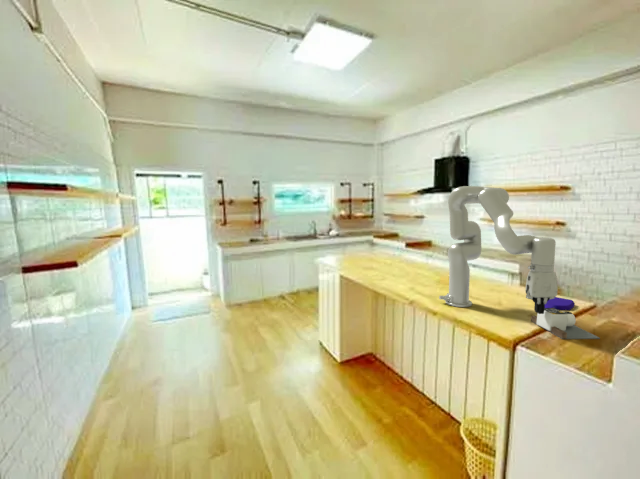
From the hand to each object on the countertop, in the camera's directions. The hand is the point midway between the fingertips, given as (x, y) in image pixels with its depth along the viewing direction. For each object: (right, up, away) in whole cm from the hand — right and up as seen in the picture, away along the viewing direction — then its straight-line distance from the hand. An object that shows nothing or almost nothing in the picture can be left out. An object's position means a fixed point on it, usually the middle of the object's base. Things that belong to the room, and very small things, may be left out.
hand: (539, 312), depth 126 cm
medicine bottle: (+2, -3, +1) cm, 4 cm away
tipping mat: (+10, -7, +1) cm, 12 cm away
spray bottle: (+25, -4, +25) cm, 36 cm away
